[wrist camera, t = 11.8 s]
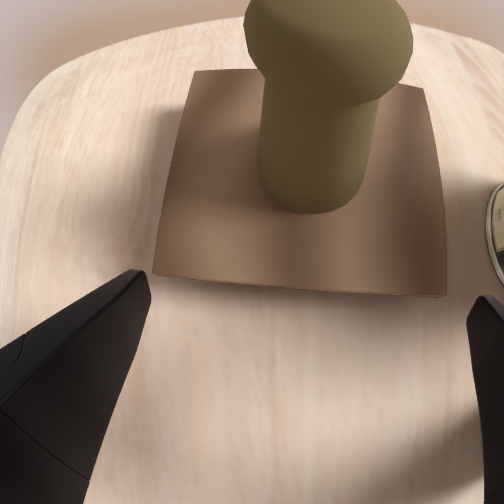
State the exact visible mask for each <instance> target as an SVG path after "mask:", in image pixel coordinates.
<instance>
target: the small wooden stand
mask: <svg viewBox="0 0 504 504" xmlns="http://www.w3.org/2000/svg"><path fill="white" fill-rule="evenodd" d="M264 82H265V78H264V76H263V75H262V74H261V72H260V71H259V69H224V70H204V71H195V72H194V75H193V79H192V82H191V86H190V89H189V93H188V96H187V100H186V104H185V108H184V112H183V115H182V119H181V123H180V127H179V132H178V136H177V140H176V144H175V149H174V153H173V157H172V162H171V167H170V171H169V176H168V181H167V186H166V191H165V196H164V202H163V207H162V213H161V218H160V224H159V230H158V236H157V242H156V249H155V256H154V263H153V270H152V273H153V274H156V275H159V276H166V277H175V278H184V279H193V280H203V281H213V282H223V283H234V284H244V285H256V286H267V287H279V288H291V289H304V290H318V291H332V292H346V293H362V294H379V295H398V296H419V297H442V296H446V294H447V249H446V228H445V213H444V202H443V192H442V184H441V176H440V169H439V162H438V156H437V150H436V144H435V139H434V134H433V129H432V124H431V119H430V115H429V110H428V106H427V102H426V98H425V94H424V90H423V88H418V87H414V86H409V85H405V84H400V83H397V84H396V85H395V86H394V87H393V88H392V89H391V90H389V91H388V92H387V93H386V94H384V95H383V96H382V97H381V98H380V100H379V106H378V111H377V117H376V122H375V128H374V133H373V138H372V143H371V148H370V153H369V158H368V162H367V167H366V171H365V176H364V180H363V182H362V184H361V187H360V189H359V191H358V193H357V195H356V196H354V197H353V198H352V199H351V200H350V201H349V202H348V203H347V204H346V205H345V206H343V207H340V208H338V209H336V210H334V211H332V212H328V213H319V214H308V213H303V212H297V211H294V210H292V209H290V208H288V207H286V206H284V205H282V204H280V203H278V202H277V201H276V200H275V199H274V198H273V197H272V196H271V195H270V194H269V193H268V192H267V191H266V189H265V188H264V186H263V184H262V182H261V180H260V178H259V174H258V167H257V154H258V144H259V133H260V123H261V113H262V102H263V92H264Z"/></svg>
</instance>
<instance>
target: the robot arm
mask: <svg viewBox="0 0 504 504" xmlns="http://www.w3.org/2000/svg"><path fill="white" fill-rule="evenodd" d="M150 304H151V292H150V288H149V284H148V280H147V276H146V274H145V272H144V271H142V270H134V269H130V270H128V271H126V272H124V273H122V274H121V275H119V276H117V277H116V278H114V279H112V280H110V281H109V282H107V283H105V284H104V285H102V286H100V287H99V288H97V289H95V290H94V291H92V292H90V293H89V294H87V295H85V296H84V297H82V298H80V299H79V300H77V301H75V302H74V303H72V304H71V305H69V306H67V307H66V308H64V309H62V310H61V311H59V312H58V313H56V314H54V315H53V316H51V317H50V318H48V319H46V320H45V321H43V322H42V323H40V324H39V325H37V326H35V327H34V328H32V329H31V330H29V331H28V332H26V334H23V335H21V336H20V337H18V338H17V339H15V340H14V341H12V342H11V343H9V344H7V345H6V346H4V347H3V348H1V349H0V504H83V502H84V499H85V496H86V492H87V489H88V486H89V482H90V481H89V480H90V479H91V475H92V472H93V469H94V466H95V463H96V460H97V457H98V454H99V451H100V448H101V445H102V442H103V439H104V436H105V433H106V430H107V428H108V425H109V422H110V419H111V416H112V414H113V411H114V408H115V405H116V403H117V400H118V397H119V395H120V392H121V390H122V387H123V384H124V382H125V379H126V377H127V374H128V372H129V369H130V367H131V364H132V362H133V359H134V356H135V354H136V351H137V348H138V345H139V341H140V338H141V334H142V331H143V328H144V324H145V321H146V317H147V314H148V311H149V308H150ZM466 326H467V333H468V339H469V346H470V354H471V363H472V371H473V377H474V383H475V389H476V395H477V401H478V408H479V415H480V424H481V433H482V444H483V460H484V499H485V500H484V504H504V305H502V304H501V303H500V302H499V301H498V300H496V299H495V298H494V297H492V296H488V295H481V296H479V297H478V298H477V300H476V302H475V304H474V306H473V307H472V309H471V311H470V313H469V315H468V317H467V321H466Z"/></svg>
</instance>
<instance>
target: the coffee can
mask: <svg viewBox="0 0 504 504" xmlns="http://www.w3.org/2000/svg"><path fill="white" fill-rule="evenodd" d="M486 237H487V244H488V248H489V253H490V256H491V259H492V262H493V265H494V268H495V270H496V272H497V275H498V276H499V278H500V280H501V282H502V283H503V285H504V183H502V184H500V185H499V186H498V187H497V188H496V189H495V190H494V192H493V193H492V195H491V197H490V200H489V202H488V207H487V213H486Z"/></svg>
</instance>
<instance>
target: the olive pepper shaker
mask: <svg viewBox="0 0 504 504" xmlns="http://www.w3.org/2000/svg"><path fill="white" fill-rule="evenodd" d="M243 26H244V31H245V37H246V43H247V48H248V53H249V55H250V57H251V58H252V60H253V62H254V64H255V65H256V67H257V68H258V69H259V71H260V72H261V74H262V75H263V76H264V78H265V82H264V92H263V102H262V113H261V123H260V133H259V144H258V154H257V167H258V174H259V178H260V180H261V182H262V184H263V186H264V188H265V189H266V191H267V192H268V193H269V194H270V195H271V196H272V197H273V198H274V199H275V200H276V201H277V202H278V203H280V204H282V205H284V206H286V207H288V208H290V209H292V210H294V211H297V212H303V213H308V214H319V213H328V212H332V211H334V210H336V209H338V208H340V207H343V206H345V205H346V204H347V203H348V202H349V201H350V200H351V199H352V198H353V197H354V196H356V195H357V193H358V191H359V189H360V187H361V184H362V182H363V180H364V176H365V171H366V167H367V162H368V158H369V153H370V148H371V143H372V138H373V133H374V128H375V122H376V117H377V111H378V106H379V100H380V98H381V97H382V96H383V95H384V94H386V93H387V92H388V91H389V90H391V89H392V88H393V87H394V86H395V85H396V84H397V83H398V82H399V81H400V80H401V79H402V77H403V75H404V73H405V70H406V68H407V66H408V63H409V61H410V58H411V55H412V53H413V35H412V31H411V27H410V23H409V21H408V18H407V16H406V13H405V11H404V10H403V9H402V7H401V6H400V5H399V4H398V2H397V1H396V0H251V1H250V3H249V6H248V8H247V10H246V13H245V18H244V24H243Z"/></svg>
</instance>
